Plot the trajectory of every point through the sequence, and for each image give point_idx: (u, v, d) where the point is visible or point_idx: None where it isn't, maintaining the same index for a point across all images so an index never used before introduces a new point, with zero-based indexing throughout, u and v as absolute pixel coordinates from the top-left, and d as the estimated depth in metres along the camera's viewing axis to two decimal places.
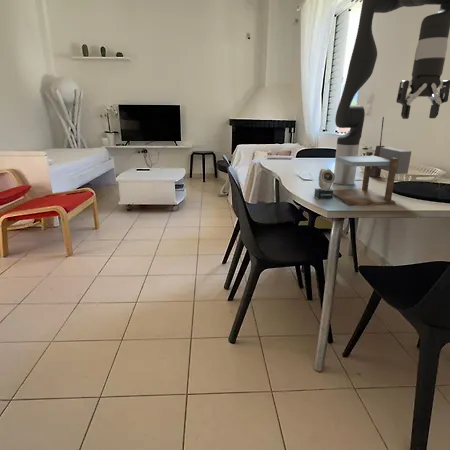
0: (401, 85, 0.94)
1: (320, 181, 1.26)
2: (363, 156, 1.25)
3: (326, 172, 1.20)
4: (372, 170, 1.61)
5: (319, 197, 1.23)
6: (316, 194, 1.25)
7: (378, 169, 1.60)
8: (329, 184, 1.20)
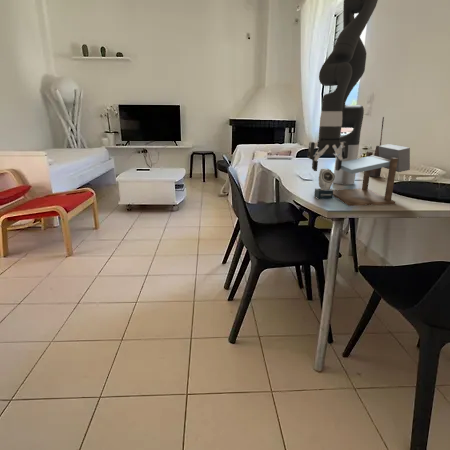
0: (309, 145, 1.19)
1: (320, 181, 1.26)
2: (363, 158, 1.25)
3: (326, 172, 1.20)
4: (372, 170, 1.61)
5: (319, 197, 1.23)
6: (316, 194, 1.25)
7: (378, 169, 1.60)
8: (329, 184, 1.20)
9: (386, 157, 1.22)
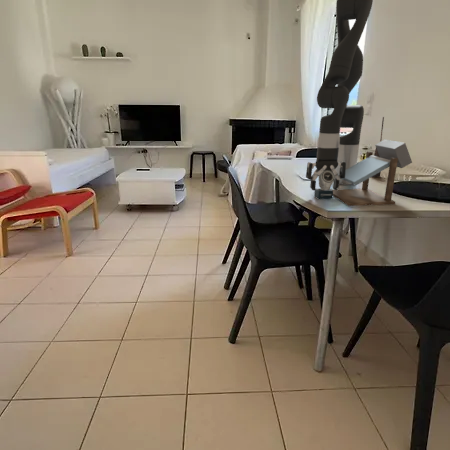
0: (308, 165, 1.21)
1: (320, 181, 1.26)
2: (363, 161, 1.26)
3: (326, 172, 1.20)
4: None
5: (319, 197, 1.23)
6: (316, 194, 1.25)
7: None
8: (329, 184, 1.20)
9: (385, 155, 1.21)
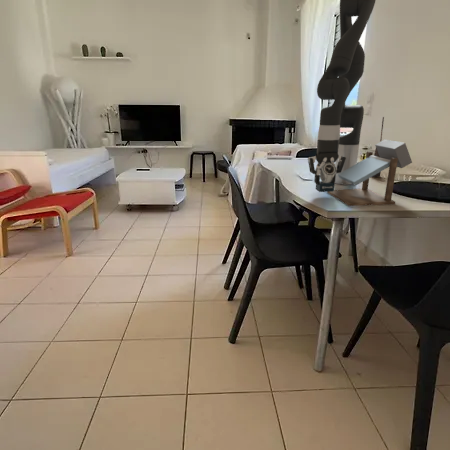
0: (308, 161, 1.21)
1: (321, 174, 1.26)
2: (363, 161, 1.26)
3: (327, 164, 1.20)
4: None
5: (320, 190, 1.23)
6: (317, 187, 1.24)
7: None
8: (330, 177, 1.20)
9: (385, 155, 1.21)
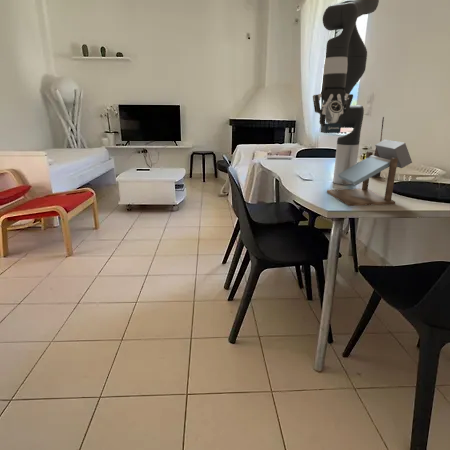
0: (313, 99, 1.13)
1: (327, 115, 1.18)
2: (363, 161, 1.26)
3: (334, 102, 1.12)
4: None
5: (326, 131, 1.15)
6: (323, 128, 1.17)
7: None
8: (337, 115, 1.12)
9: (385, 155, 1.21)
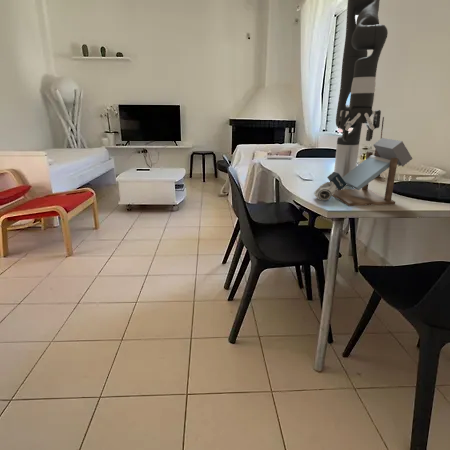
0: (340, 114, 1.14)
1: (326, 188, 1.25)
2: (363, 163, 1.26)
3: (321, 197, 1.21)
4: None
5: (344, 184, 1.21)
6: None
7: None
8: (331, 189, 1.19)
9: (385, 154, 1.21)
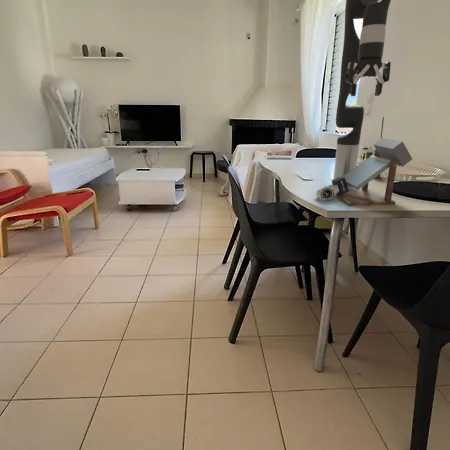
0: (348, 66, 1.09)
1: None
2: (363, 163, 1.26)
3: (323, 196, 1.21)
4: None
5: (347, 190, 1.23)
6: None
7: None
8: (334, 189, 1.20)
9: (385, 154, 1.21)
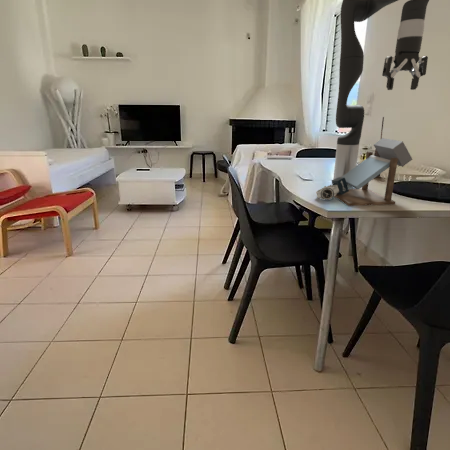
0: (386, 60, 1.11)
1: None
2: (363, 163, 1.26)
3: (323, 196, 1.21)
4: None
5: (347, 190, 1.23)
6: None
7: None
8: (334, 189, 1.20)
9: (385, 154, 1.21)
